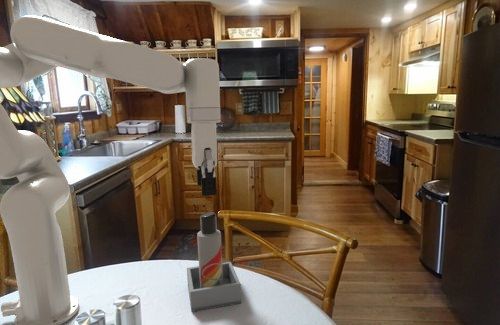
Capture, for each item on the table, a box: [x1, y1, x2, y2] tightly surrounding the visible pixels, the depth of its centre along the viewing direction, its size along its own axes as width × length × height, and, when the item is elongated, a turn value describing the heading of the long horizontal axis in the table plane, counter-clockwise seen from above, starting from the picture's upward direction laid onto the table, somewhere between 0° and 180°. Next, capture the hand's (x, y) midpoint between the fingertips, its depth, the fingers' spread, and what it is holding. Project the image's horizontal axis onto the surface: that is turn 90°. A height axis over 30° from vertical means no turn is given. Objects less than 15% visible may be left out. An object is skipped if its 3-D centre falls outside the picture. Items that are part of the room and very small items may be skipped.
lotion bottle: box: [196, 211, 223, 288], centre depth 82 cm, size 6×6×20 cm
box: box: [186, 261, 242, 313], centre depth 83 cm, size 12×12×5 cm
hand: (206, 189), depth 78 cm, fingers open, 9 cm apart
